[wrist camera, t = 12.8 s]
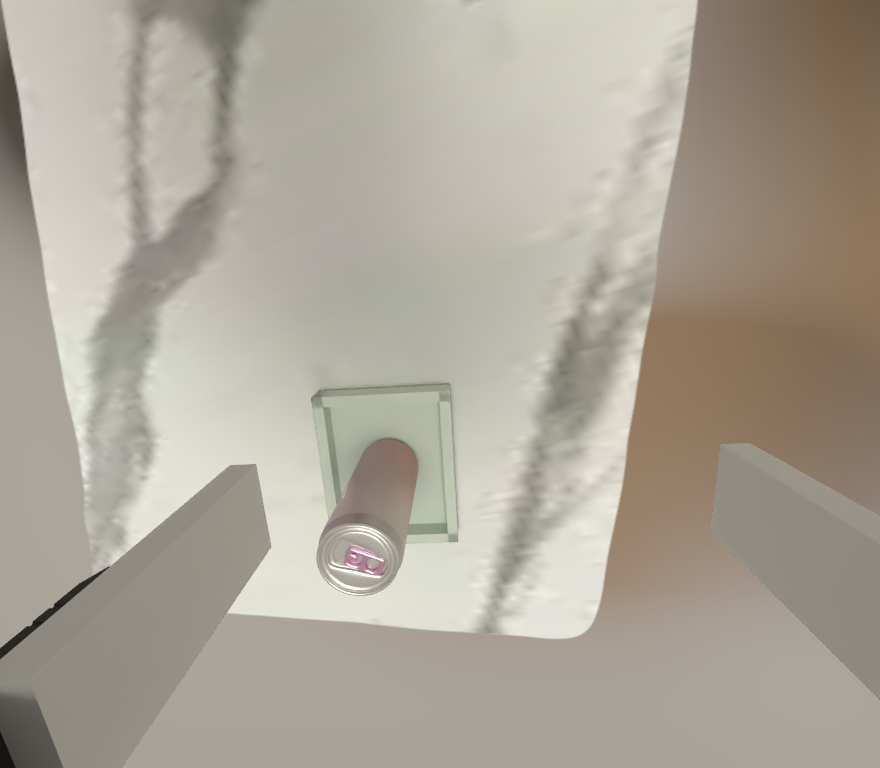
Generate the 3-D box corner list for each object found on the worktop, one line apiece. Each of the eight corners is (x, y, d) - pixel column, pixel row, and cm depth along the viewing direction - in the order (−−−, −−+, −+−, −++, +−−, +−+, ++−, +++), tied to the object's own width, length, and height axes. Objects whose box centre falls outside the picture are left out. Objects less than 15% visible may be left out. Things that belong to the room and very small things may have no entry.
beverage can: (407, 498, 43) (384, 610, 29) (353, 478, 43) (302, 582, 28) (427, 449, 42) (414, 540, 27) (371, 428, 41) (328, 510, 27)
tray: (319, 390, 41) (311, 397, 39) (449, 384, 41) (449, 390, 38) (338, 531, 45) (332, 546, 43) (457, 527, 45) (458, 541, 42)
